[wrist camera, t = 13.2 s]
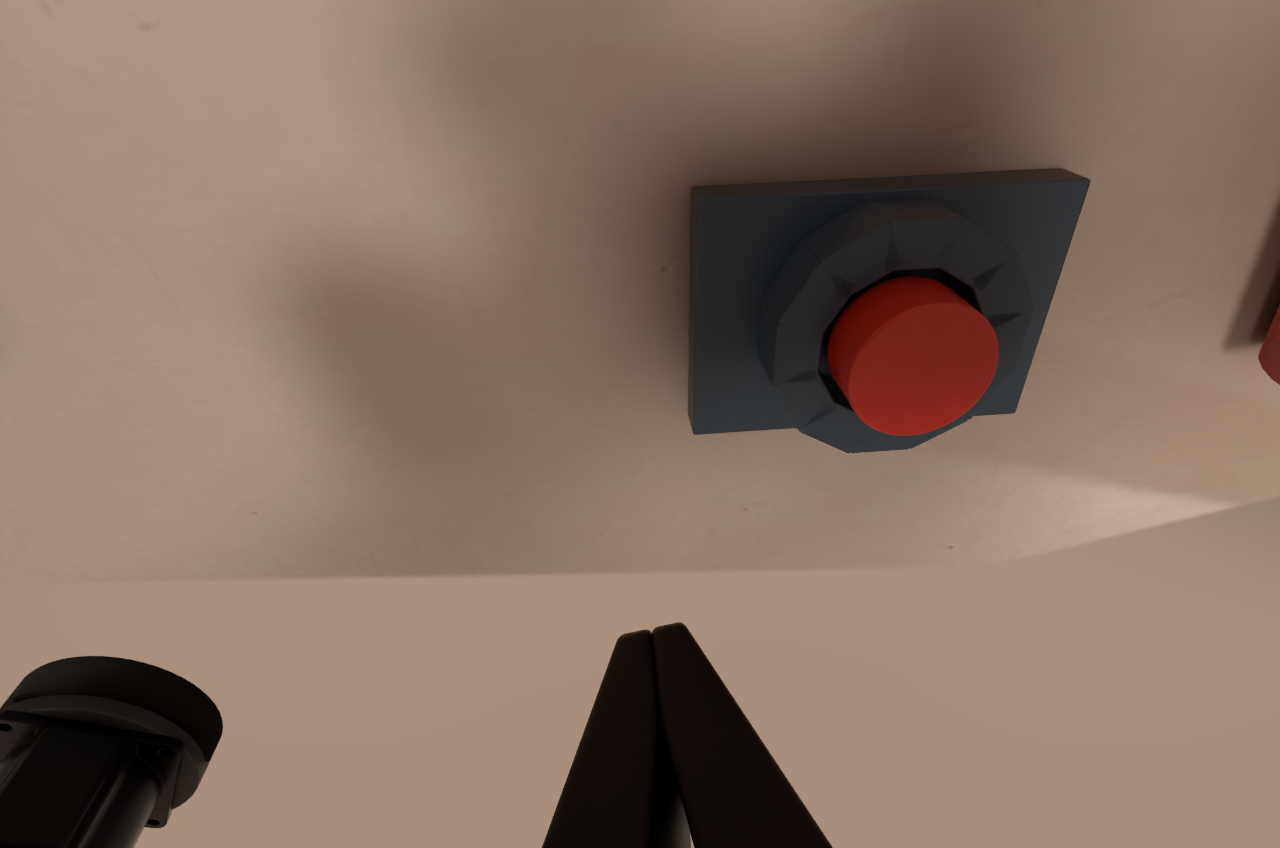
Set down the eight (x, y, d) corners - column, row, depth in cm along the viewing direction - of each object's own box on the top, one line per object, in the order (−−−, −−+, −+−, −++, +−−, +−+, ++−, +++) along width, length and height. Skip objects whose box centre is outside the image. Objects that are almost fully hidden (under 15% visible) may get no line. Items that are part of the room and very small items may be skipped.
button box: (687, 414, 21) (702, 472, 19) (690, 186, 18) (709, 220, 15) (995, 394, 22) (1049, 448, 19) (1063, 168, 18) (1142, 198, 16)
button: (818, 405, 18) (839, 441, 17) (835, 278, 16) (861, 308, 15) (947, 396, 19) (979, 432, 17) (980, 270, 17) (1019, 298, 15)
